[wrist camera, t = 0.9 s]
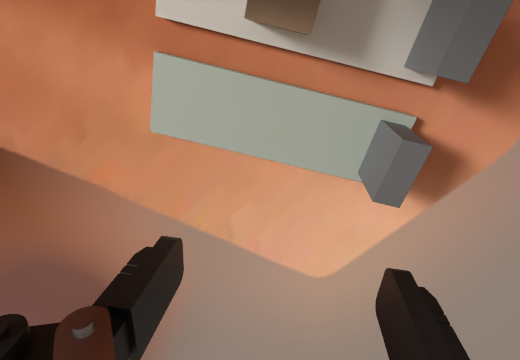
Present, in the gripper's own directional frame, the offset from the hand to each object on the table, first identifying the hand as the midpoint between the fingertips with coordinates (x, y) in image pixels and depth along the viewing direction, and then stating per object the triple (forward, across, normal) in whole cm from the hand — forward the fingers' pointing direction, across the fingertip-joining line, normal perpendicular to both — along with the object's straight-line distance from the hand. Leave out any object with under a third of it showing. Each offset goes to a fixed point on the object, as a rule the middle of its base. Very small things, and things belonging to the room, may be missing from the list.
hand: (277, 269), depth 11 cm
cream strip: (+20, 0, -12) cm, 24 cm away
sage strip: (+21, +2, -1) cm, 21 cm away
